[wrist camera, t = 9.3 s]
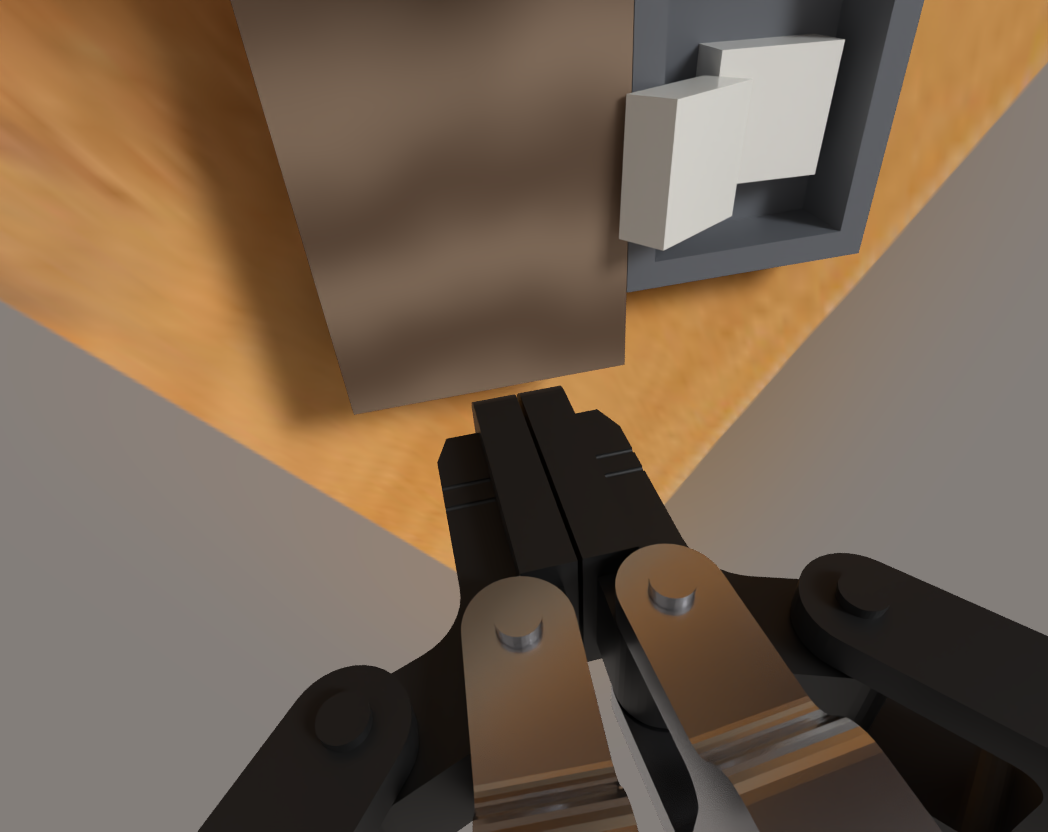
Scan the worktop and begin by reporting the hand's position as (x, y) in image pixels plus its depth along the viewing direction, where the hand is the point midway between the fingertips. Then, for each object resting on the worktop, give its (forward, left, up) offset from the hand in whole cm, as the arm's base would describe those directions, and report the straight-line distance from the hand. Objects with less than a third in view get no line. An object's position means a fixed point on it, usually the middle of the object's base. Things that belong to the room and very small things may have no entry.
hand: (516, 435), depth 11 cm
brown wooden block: (0, +1, -19) cm, 19 cm away
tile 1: (+1, +9, -15) cm, 18 cm away
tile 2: (0, +14, -16) cm, 21 cm away
